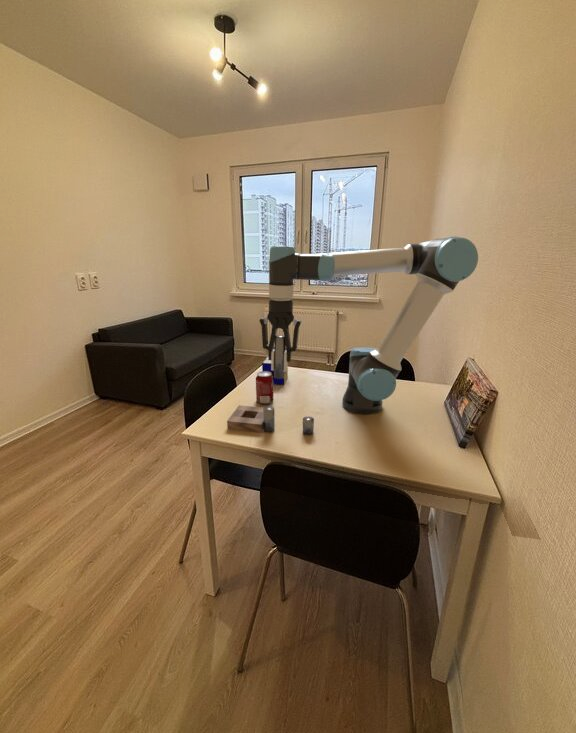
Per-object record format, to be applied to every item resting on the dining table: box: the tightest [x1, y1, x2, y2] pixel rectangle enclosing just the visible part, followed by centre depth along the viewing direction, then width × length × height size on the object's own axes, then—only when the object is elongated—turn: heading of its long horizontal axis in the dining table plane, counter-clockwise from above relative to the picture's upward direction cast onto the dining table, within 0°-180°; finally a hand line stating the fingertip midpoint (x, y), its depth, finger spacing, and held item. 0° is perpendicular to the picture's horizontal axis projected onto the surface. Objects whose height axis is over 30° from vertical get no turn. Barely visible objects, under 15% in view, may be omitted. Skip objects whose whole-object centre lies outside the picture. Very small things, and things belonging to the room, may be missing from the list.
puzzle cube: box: [261, 356, 289, 386], centre depth 149 cm, size 10×10×10 cm
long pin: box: [274, 334, 286, 379], centre depth 106 cm, size 4×4×14 cm
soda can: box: [255, 371, 274, 405], centre depth 127 cm, size 7×7×12 cm
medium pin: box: [263, 405, 276, 434], centre depth 107 cm, size 4×4×8 cm
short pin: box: [302, 416, 315, 436], centre depth 106 cm, size 4×4×5 cm
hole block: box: [226, 404, 264, 433], centre depth 113 cm, size 12×12×3 cm
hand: (279, 369), depth 108 cm, fingers closed on long pin, 3 cm apart
